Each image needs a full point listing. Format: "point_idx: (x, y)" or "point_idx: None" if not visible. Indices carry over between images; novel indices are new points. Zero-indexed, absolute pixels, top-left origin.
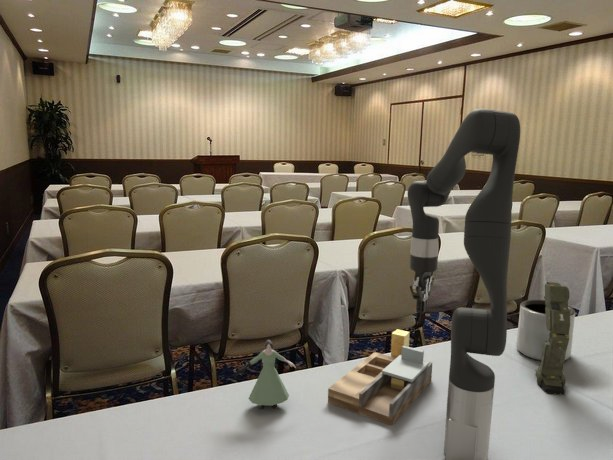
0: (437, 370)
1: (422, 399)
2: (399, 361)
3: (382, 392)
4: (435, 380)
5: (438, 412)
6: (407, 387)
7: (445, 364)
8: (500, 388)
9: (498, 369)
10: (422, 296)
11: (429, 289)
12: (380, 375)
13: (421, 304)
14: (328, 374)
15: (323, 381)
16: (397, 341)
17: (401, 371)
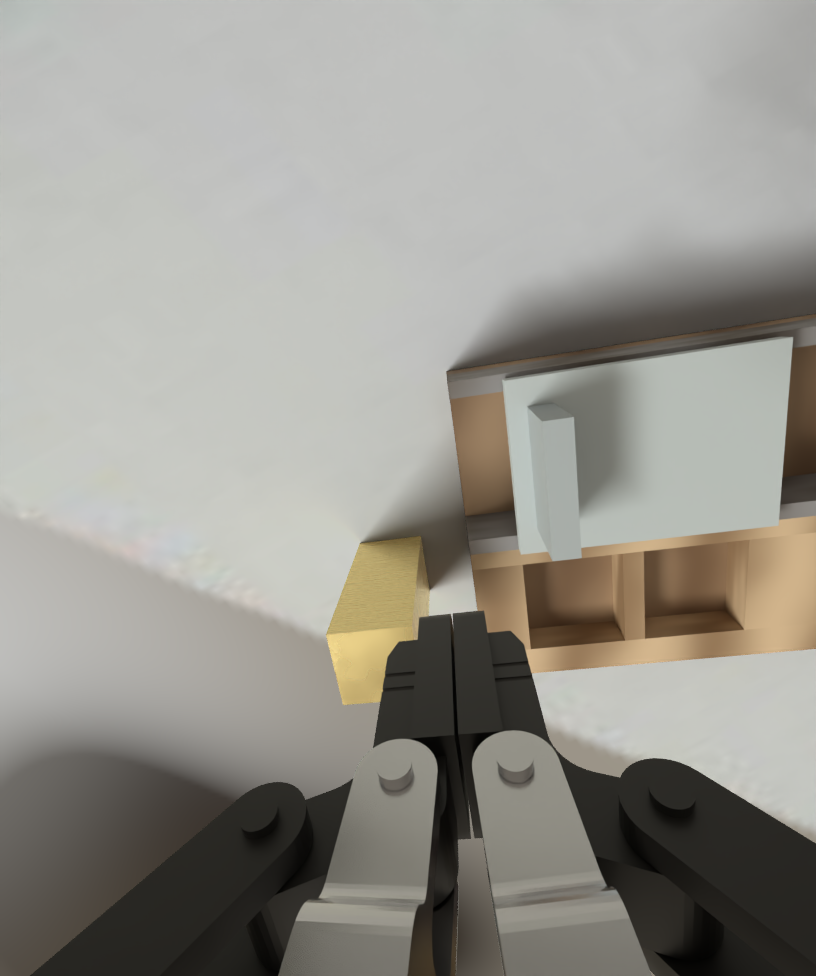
0: (326, 403)
1: (648, 307)
2: (605, 514)
3: (784, 457)
4: (428, 358)
5: (725, 175)
6: None
7: (239, 405)
8: (256, 31)
9: (63, 156)
10: (703, 855)
11: (325, 956)
12: (784, 514)
13: (540, 716)
14: (687, 715)
15: (754, 698)
16: None
17: (724, 440)
